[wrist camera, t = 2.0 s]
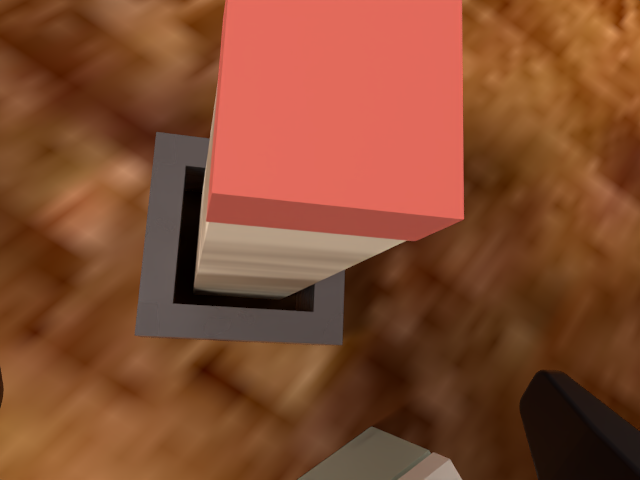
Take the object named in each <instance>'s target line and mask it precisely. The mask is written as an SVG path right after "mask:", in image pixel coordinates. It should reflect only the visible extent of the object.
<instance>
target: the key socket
mask: <svg viewBox="0 0 640 480" xmlns="http://www.w3.org/2000/svg"><path fill="white" fill-rule="evenodd" d="M209 141H210V139H207V138H200V137H192V136H184V135H176V134H168V133H160V132H156V141H155V150H154V159H153V169H152V178H151V187H150V197H149V206H148V216H147V225H146V234H145V244H144V253H143V262H142V272H141V281H140V290H139V300H138V309H137V318H136V328H135V336H140V337H153V338H175V339H197V340H218V341H240V342H262V343H284V344H305V345H342V341H343V311H344V281H345V270H343V271H341V272H338V273H336V274H334V275H332V276H330V277H328V278H326V279H323V280H321V281H319V282H317V283H315V284H313V285H311V286H308V287H306V288H304V289H302V290H300V291H298V292H296V311H288V310H271V309H255V308H238V307H221V306H205V305H188V304H174V303H175V292H176V281H177V271H178V260H179V249H180V239H181V228H182V218H183V207H184V196H185V191H193V192H202V191H203V184H204V177H205V170H206V163H207V155H208V148H209Z"/></svg>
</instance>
